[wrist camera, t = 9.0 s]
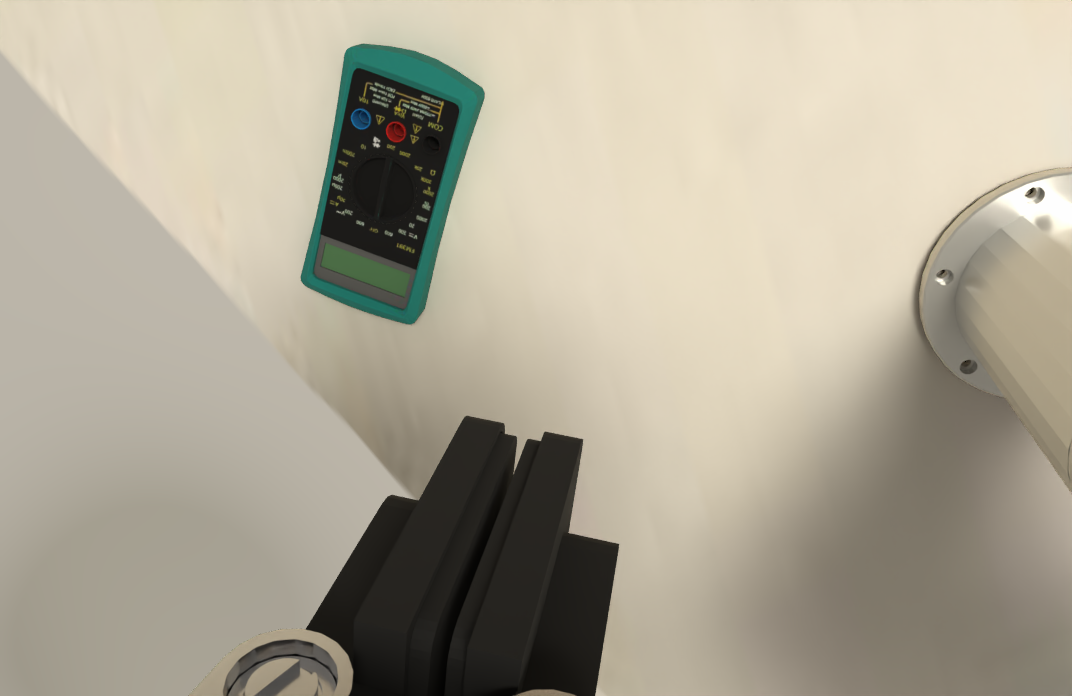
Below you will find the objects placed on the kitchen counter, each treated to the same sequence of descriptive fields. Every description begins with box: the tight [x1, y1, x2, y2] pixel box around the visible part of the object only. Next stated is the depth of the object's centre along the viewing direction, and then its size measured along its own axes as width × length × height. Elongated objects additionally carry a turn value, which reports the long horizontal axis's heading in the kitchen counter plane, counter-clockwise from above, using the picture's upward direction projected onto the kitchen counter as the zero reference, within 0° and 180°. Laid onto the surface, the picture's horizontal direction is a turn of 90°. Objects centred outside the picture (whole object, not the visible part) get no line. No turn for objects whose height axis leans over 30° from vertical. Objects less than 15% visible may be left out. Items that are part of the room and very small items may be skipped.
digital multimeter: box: [301, 44, 485, 324], centre depth 45 cm, size 7×15×3 cm, turn 162°
